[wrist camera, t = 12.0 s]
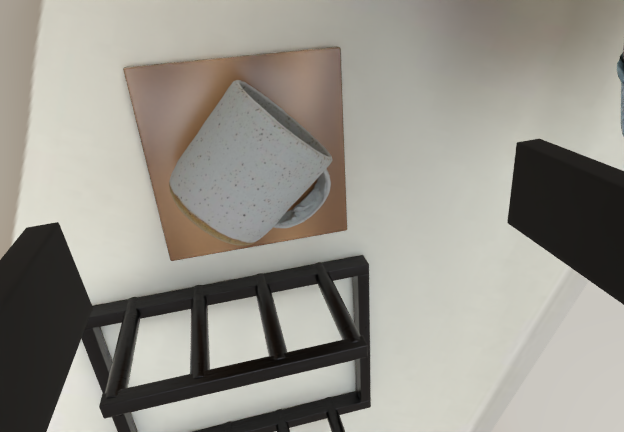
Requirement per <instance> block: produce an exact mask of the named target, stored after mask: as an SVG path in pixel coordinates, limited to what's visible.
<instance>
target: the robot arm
mask: <svg viewBox="0 0 624 432" xmlns="http://www.w3.org/2000/svg"><path fill="white" fill-rule="evenodd" d="M617 73H618V77H619V78H620V80H621V129H622V134H623V137H624V47H623V53H622V54H621V56H620V60H619V62H618V63H617ZM508 223H509V224H510V225H511V226H513V227H514V228H516V229H517V230H518V231H520V232H521V233H523V234H524V235H526V236H527V237H528V238H530V239H531V240H533V241H534V242H535V243H537V244H538V245H540V246H541V247H543V248H544V249H545V250H547V251H548V252H550V253H551V254H553V255H554V256H555V257H557V258H558V259H560V260H561V261H562V262H564V263H565V264H567V265H568V266H570V267H571V268H572V269H574V270H575V271H577V272H578V273H580V274H581V275H582V276H584V277H585V278H587V279H588V280H589V281H591V282H592V283H594V284H595V285H597V286H598V287H599V288H601V289H602V290H604V291H605V292H607V293H608V294H609V295H611V296H612V297H614V298H615V299H617V300H618V301H619V302H621V303H622V304H624V171H622V170H619V169H617V168H614V167H611V166H609V165H606V164H604V163H601V162H598V161H596V160H593V159H591V158H588V157H586V156H583V155H580V154H578V153H575V152H573V151H570V150H567V149H565V148H562V147H560V146H557V145H554V144H552V143H549V142H547V141H544V140H541V139H535V140H529V141H523V142H517V146H516V155H515V163H514V172H513V180H512V189H511V197H510V206H509V214H508ZM92 308H93V307H92V304H91V302H90V300H89V297H88V295H87V292H86V290H85V287H84V285H83V282H82V280H81V277H80V275H79V272H78V270H77V267H76V265H75V262H74V260H73V257H72V255H71V252H70V250H69V247H68V245H67V242H66V240H65V237H64V235H63V232H62V230H61V228H60V225H59V223H58V222H57V223H51V224H45V225H40V226H34V227H28V228H26V229H25V230H24V231H23V233H22V234H21V235H20V236H19V238H18V239H17V240H16V241H15V243H14V244H13V245H12V246H11V247H10V249H9V250H8V251H7V253H6V254H5V255H4V256H3V257H2V259H1V260H0V432H46V431H47V429H48V426H49V423H50V421H51V418H52V415H53V412H54V410H55V407H56V404H57V402H58V399H59V396H60V394H61V391H62V388H63V386H64V383H65V380H66V378H67V375H68V372H69V370H70V367H71V364H72V362H73V359H74V356H75V354H76V351H77V348H78V346H79V343H80V340H81V338H82V335H83V332H84V330H85V327H86V324H87V322H88V319H89V316H90V314H91V311H92Z"/></svg>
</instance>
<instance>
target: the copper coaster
mask: <svg viewBox="0 0 624 432" xmlns="http://www.w3.org/2000/svg"><path fill="white" fill-rule="evenodd" d="M124 74H125V78H126V82H127V86H128V90H129V94H130V98H131V102H132V106H133V110H134V114H135V118H136V122H137V126H138V130H139V134H140V138H141V142H142V146H143V150H144V155H145V159H146V163H147V167H148V171H149V175H150V179H151V183H152V187H153V191H154V195H155V199H156V203H157V207H158V211H159V215H160V219H161V223H162V227H163V231H164V236H165V240H166V244H167V248H168V252H169V256H170V260H171V261H174V260H180V259H185V258H191V257H197V256H202V255H208V254H214V253H219V252H225V251H231V250H236V249H242V248H248V247H253V246H259V245H265V244H270V243H276V242H282V241H288V240H293V239H299V238H305V237H310V236H316V235H322V234H327V233H333V232H339V231H344V230H347V215H346V188H345V161H344V134H343V107H342V80H341V53H340V47H331V48H320V49H310V50H300V51H289V52H279V53H268V54H258V55H247V56H237V57H227V58H216V59H206V60H195V61H185V62H174V63H164V64H154V65H143V66H133V67H125V68H124ZM235 80H241V81H242V82H246V83H247V84H248V85H250V86H252V87H253V88H255V89H256V90H257V91H259V92H260V93H262V94H263V95H264V96H266V97H268V98H269V99H270V100H271V101H272V102H274V103H275V104H276V105H278V106H279V107H280V108H281V109H283V110H284V111H285V112H286V113H287V114H288V115H289V116H291V117H292V118H293V119H295V120H296V121H297V122H298V123H299V124H300V125H301V126H303V127H304V128H305V129H306V130H307V131H308V132H309V133H310V134H311V135H312V136H313V137H314V138H316V139H317V140H318V141H319V142H320V143H321V145H322V146H324V147H325V148H326V150H327V151H328V152H329V153H330V155H331V156H332V162H331V164H330V165H329V166H328V167H327V171H328V173H329V175H330V181H331V187H330V192H329V195H328V197H327V199H326V200H325V202H324V204H323V205H322V206H321V207H320V208H319V209H318V210H317V211H316V212H315V213H314V214H313V215H312V216H311V217H310V218H308V219H307V220H305V221H304V222H302V223H300V224H298V225H296V226H293V227H290V228H274V227H273V228H272V229H271V230H270V231H269V232H268V233H267V234H265V235H264V236H263V237H262V238H261V239H259V240H258V241H256V242H255V243H253V244H251V245H246V246H245V245H233V244H229V243H226V242H223V241H221V240H219V239H217V238H215V237H213V236H211V235H209V234H208V233H206V232H204V231H203V230H202V229H200V228H199V227H197V226H196V225H195V224H194V223H193V222H191V221H190V220H189V219H188V218H187V217H186V216H185V215H184V214H183V213H182V212H181V210H180V209H179V208H178V207H177V205H176V203H175V202H174V200H173V198H172V195H171V193H170V189H169V181H170V177H171V174H172V172H173V170H174V168H175V166H176V164H177V162H178V160H179V159H180V157H181V156H182V154H183V153H184V151H185V150H186V149H187V147H188V146H189V144H190V143H191V142H192V140H193V139H194V138H195V136H196V135H197V134H198V132H199V130H200V129H201V127H202V125H203V124H204V122H205V121H206V120H207V118H208V117H209V116H210V114H211V113H212V111H213V110H214V109H215V107H216V106H217V104H218V103H219V101H220V100H221V99H222V97H223V96H224V94H225V92H226V91H227V89H228V88H229V86H230V85H231V84H232V83H233V81H235ZM317 180H318V178H317V179H316V180H315V182H314V183H313V184H312V185H311V186H310V187H309V188H308V189H307V190H306V191H305V192H304V193H303V195H302V196H301V197H300V198H299V199H298V200H297V201H296V202H295V203H294V204H293V205H292V206H291V207H290V208H289V209H288V210H287V211H290V210H292V209H293V208H294V207H295V206H296V205H298V204H299V203H300V202H301V201H302V200H303V199H304V198H305V197H306V196H307V195H308V194H309V193H310V192H311V191H312V189H313V188H314V186H315V184H316V183H317Z"/></svg>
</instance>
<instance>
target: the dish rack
mask: <svg viewBox="0 0 624 432" xmlns="http://www.w3.org/2000/svg"><path fill="white" fill-rule="evenodd" d="M349 277H353V300H354V322H353V320H352V318H351V316H350V314H349V312H348V310H347V308H346V306H345V304H344V302H343V300H342V298H341V296H340V294H339V292H338V290H337V288H336V286H335V284H334V282H333V281H334V280H339V279H344V278H349ZM314 284H318V286H319V288H320V290H321V292H322V295H323V297H324V299H325V301H326V304H327V306H328V308H329V310H330V313H331V315H332V317H333V319H334V321H335V324H336V326H337V328H338V330H339V333H340V335H341V337H342V339H343V340H340V341H336V342H331V343H327V344H323V345H318V346H314V347H309V348H305V349H300V350H296V351H291V352H287V349H286V345H285V342H284V338H283V334H282V330H281V327H280V323H279V319H278V315H277V312H276V308H275V304H274V300H273V297H272V293H273V292H278V291H283V290H288V289H293V288H299V287H304V286H309V285H314ZM253 296H257V301H258V306H259V311H260V315H261V320H262V325H263V330H264V334H265V339H266V344H267V349H268V353H269V357H264V358H260V359H255V360H251V361H246V362H242V363H238V364H233V365H229V366H224V367H220V368H215V369H211V370H210V361H209V335H208V308H207V305H212V304H217V303H222V302H227V301H233V300H238V299H243V298H248V297H253ZM92 307H93V308H92V311H91V314H90V316H89V319H88V322H87V324H86V327H85V330H84V332H83V335H82V341H83V343H84V346H85V349H86V351H87V354H88V356H89V359H90V362H91V364H92V367H93V369H94V372H95V374H96V377H97V380H98V382H99V385H100V387H101V390H102V392H103V394H102V398H101V402H100V406H99V407H100V410H101V412H102V415H103V417H104V418H108V417H112V418H113V421H114V423H115V426H116V429H117V431H118V432H137V429H136V426H135V424H134V421H133V418H132V415H131V412H134V411H138V410H142V409H147V408H151V407H155V406H160V405H164V404H168V403H172V402H177V401H181V400H185V399H190V398H194V397H198V396H202V395H207V394H211V393H215V392H220V391H224V390H228V389H232V388H237V387H241V386H245V385H250V384H254V383H258V382H262V381H267V380H271V379H275V378H279V377H284V376H288V375H292V374H297V373H301V372H305V371H309V370H314V369H318V368H322V367H327V366H331V365H335V364H339V363H344V362H348V361H352V360H355V362H356V392H352V393H348V394H344V395H340V396H336V397H328V398H326V399H323V400H319V401H315V402H311V403H307V404H303V405H299V406H295V407H291V408H287V409H283V410H282V409H280V410H277V411H275V412H271V413H267V414H263V415H259V416H255V417H251V418H247V419H243V420H239V421H234V422H228V423H226V424H222V425H218V426H214V427H210V428H206V429H202V430H198V431H194V432H275V431H277V432H290V429H289V428H291V427H295V426H298V425H302V424H306V423H310V422H314V421H318V420H322V419H326V418H327V419H328V422H329V425H330V428H331V431H332V432H345V430H344V427H343V424H342V421H341V418H340V416H339V415H341V414H345V413H349V412H353V411H357V410H361V409H365V408H369V407H371V402H370V400H371V398H370V320H369V264H368V262H367V261H366V259H365V258H364V256H363V255H361V256H356V257H351V258H346V259H340V260H335V261H330V262H324V263H316V264H314V265H308V266H303V267H298V268H292V269H287V270H282V271H277V272H271V273H266V274H257V275H255V276H250V277H245V278H239V279H234V280H229V281H223V282H218V283H213V284H207V285H197V286H195V287H192V288H186V289H181V290H176V291H170V292H165V293H160V294H154V295H149V296H144V297H138V298H137V297H133V298H130V299H128V300H123V301H117V302H112V303H107V304H101V305H96V306H92ZM187 309H191V353H190V374H188V375H184V376H179V377H175V378H170V379H166V380H162V381H157V382H153V383H148V384H144V385H139V386H135V387H130V388H128V383H129V377H130V372H131V366H132V361H133V355H134V350H135V345H136V339H137V334H138V328H139V323H140V319H141V318H146V317H151V316H156V315H161V314H167V313H172V312H177V311H182V310H187ZM121 322H122V324H121V329H120V333H119V337H118V341H117V345H116V349H115V354H114V358H113V362H112V359H111V357H110V354H109V351H108V348H107V346H106V343H105V340H104V337H103V334H102V332H101V329H100V327H101V326H106V325H111V324H116V323H121Z"/></svg>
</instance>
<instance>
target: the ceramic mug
mask: <svg viewBox="0 0 624 432" xmlns="http://www.w3.org/2000/svg"><path fill="white" fill-rule="evenodd" d="M331 162H332V156H331V155H330V153H329V152H328V151H327V150H326V148H325V147H324V146H322V145H321V143H320V142H319V141H318V140H317V139H316V138H314V137H313V136H312V135H311V134H310V133H309V132H308V131H307V130H306V129H305V128H304V127H303V126H301V125H300V124H299V123H298V122H297V121H296V120H295V119H293V118H292V117H291V116H289V115H288V114H287V113H286V112H285V111H284V110H283V109H281V108H280V107H279V106H278V105H276V104H275V103H274V102H272V101H271V100H270V99H269V98H268V97H266V96H264V95H263V94H262V93H260V92H259V91H257V90H256V89H255V88H253V87H252V86H250V85H248V84H247V83H246V82H242V81H241V80H235V81H233V83H232V84H231V85H230V86H229V88H228V89H227V91H226V92H225V94H224V96H223V97H222V99H221V100H220V101H219V103H218V104H217V106H216V107H215V109H214V110H213V111H212V113H211V114H210V116H209V117H208V118H207V120H206V121H205V122H204V124H203V125H202V127H201V129H200V130H199V132H198V134H197V135H196V136H195V138H194V139H193V140H192V142H191V143H190V144H189V146H188V147H187V149H186V150H185V151H184V153H183V154H182V156H181V157H180V159H179V160H178V162H177V164H176V166H175V168H174V170H173V172H172V174H171V177H170V181H169V189H170V193H171V195H172V198H173V200H174V202H175V203H176V205H177V207H178V208H179V209H180V210H181V212H182V213H183V214H184V215H185V216H186V217H187V218H188V219H189V220H190V221H191V222H193V223H194V224H195V225H196V226H197V227H199V228H200V229H202V230H203V231H204V232H206V233H208V234H209V235H211V236H213V237H215V238H217V239H219V240H221V241H223V242H226V243H229V244H233V245H245V246H246V245H251V244H253V243H255V242H256V241H258V240H259V239H261V238H262V237H263V236H264V235H265V234H267V233H268V232H269V231H270V230H271V229H272V228H273V227H274V228H290V227H293V226H296V225H298V224H300V223H302V222H304V221H305V220H307V219H308V218H310V217H311V216H312V215H313V214H314V213H315V212H316V211H317V210H318V209H319V208H320V207H321V206H322V205H323V204H324V202H325V200H326V199H327V197H328V195H329V192H330V187H331V181H330V175H329V173H328V171H327V167H328V166H329V165H330V164H331ZM317 178H318V180H317V183H316V184H315V186H314V188H313V189H312V191H311V192H310V193H309V194H308V195H307V196H306V197H305V198H304V199H303V200H302V201H301V202H300V203H299V204H298V205H296V206H295V207H294V208H293V209H292V210H290V211H287V210H288V209H289V208H290V207H291V206H292V205H293V204H294V203H295V202H296V201H297V200H298V199H299V198H300V197H301V196H302V195H303V193H304V192H305V191H306V190H307V189H308V188H309V187H310V186H311V185H312V184H313V183H314V182H315V180H316V179H317Z"/></svg>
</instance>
